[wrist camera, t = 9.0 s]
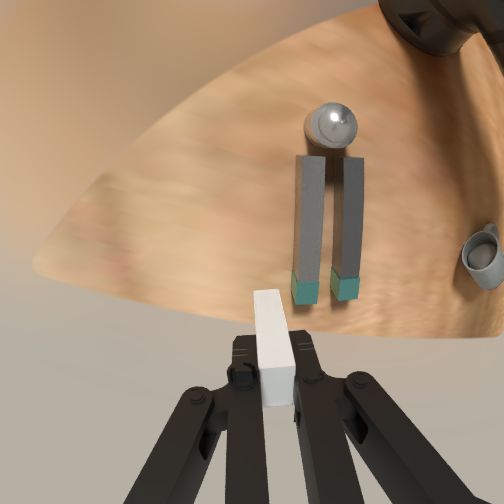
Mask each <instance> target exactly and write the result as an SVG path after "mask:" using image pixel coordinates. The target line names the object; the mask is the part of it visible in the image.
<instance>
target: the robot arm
mask: <svg viewBox="0 0 504 504" xmlns="http://www.w3.org/2000/svg"><path fill="white" fill-rule="evenodd" d="M379 4H380V6H381V9H382V11H383V13H384V14H385V16H386V18H387V19H388V20H389V22H390V23H391V24H392V26H393V27H394V28H395V29H396V30H397V31H398V32H399V33H400V34H401V35H402V36H403V37H404V38H405V39H406V40H407V41H408V42H410V43H411V44H412V45H414V46H415V47H417V48H418V49H420V50H422V51H424V52H426V53H428V54H431V55H434V56H446V55H449V54H453V53H455V52H457V51H458V50H460V48H461V47H462V46H463V44H464V43H465V42H466V41H467V40H468V39H469V38H470V37H471V36H472V35H473V34H476V33H479V32H480V33H481V34H482V36H483V38H484V39H485V41H486V43H487V45H488V47H489V48H490V50H491V52H492V54H493V56H494V58H495V60H496V62H497V64H498V66H499V68H500V70H501V72H502V74H503V77H504V0H379ZM254 307H255V323H256V335H243V336H237V337H236V338H235V340H234V341H233V352H232V364H231V365H230V366H229V367H228V370H227V376H228V382H229V383H228V384H227V385H225V386H224V387H222V388H219V389H216V390H213V391H209V390H208V389H207V388H204V387H197V386H196V387H192V388H189V389H188V390H186V391H185V392H184V393H183V394H182V396H181V398H180V400H179V402H178V404H177V406H176V407H175V409H174V411H173V413H172V415H171V417H170V418H169V421H168V422H167V424H166V426H165V428H164V430H163V432H162V433H161V435H160V437H159V439H158V441H157V443H156V444H155V446H154V448H153V450H152V452H151V454H150V456H149V457H148V459H147V461H146V463H145V465H144V467H143V469H142V470H141V472H140V474H139V476H138V478H137V479H136V481H135V483H134V485H133V487H132V489H131V491H130V492H129V494H128V496H127V498H126V499H125V501H124V503H123V504H194V501H195V499H196V496H197V494H198V491H199V489H200V486H201V484H202V481H203V479H204V476H205V474H206V471H207V468H208V466H209V463H210V461H211V458H212V455H213V453H214V450H215V448H216V445H217V442H218V439H219V437H220V434H221V431H225V430H227V451H226V452H227V453H226V485H225V504H269V493H268V480H267V467H266V453H265V439H264V427H263V426H264V425H263V411H262V407H274V406H284V405H293V403H294V405H295V413H294V422H296V426H297V432H298V438H299V444H300V450H301V457H302V463H303V470H304V476H305V482H306V489H307V496H308V502H309V504H364V500H363V496H362V492H361V488H360V485H359V481H358V478H357V474H356V470H355V466H354V463H353V459H352V456H351V452H350V449H349V446H348V442H347V439H346V435H345V433H346V434H347V436H348V437H349V439H350V440H351V442H352V443H353V445H354V447H355V448H356V450H357V451H358V453H359V454H360V456H361V457H362V459H363V460H364V462H365V463H366V465H367V466H368V468H369V469H370V471H371V472H372V474H373V475H374V476H375V478H376V480H377V481H378V483H379V484H380V486H381V487H382V489H383V490H384V492H385V493H386V495H387V496H388V498H389V499H390V501H391V502H392V503H393V504H491V503H488V502H486V501H484V500H482V499H479V498H477V497H475V496H474V495H473V494H472V493H471V492H470V490H469V489H468V488H467V487H466V486H465V484H464V483H463V482H462V481H461V479H460V478H459V477H458V476H457V475H456V473H455V472H454V471H453V470H452V469H451V467H450V466H449V465H448V464H447V463H446V462H445V460H444V459H443V458H442V457H441V456H440V454H439V453H438V452H437V451H436V450H435V449H434V447H433V446H432V445H431V444H430V443H429V441H428V440H427V439H426V438H425V437H424V436H423V434H422V433H421V432H420V431H419V430H418V429H417V427H416V426H415V425H414V424H413V423H412V422H411V420H410V419H409V418H408V417H407V416H406V415H405V413H404V412H403V411H402V410H401V409H400V408H399V407H398V405H397V404H396V403H395V402H394V401H393V400H392V398H391V397H390V396H389V395H388V394H387V393H386V391H385V390H384V389H383V388H382V387H381V386H380V384H379V383H378V382H377V381H376V380H375V379H374V378H373V376H371V375H370V374H369V373H366V372H362V371H357V372H353V373H351V374H349V375H348V377H347V378H346V379H345V378H335V377H331V376H328V375H327V374H326V373H325V372H324V371H323V370H322V369H321V367H320V364H319V360H318V357H317V354H316V351H315V349H314V345H313V342H312V339H311V335H310V334H309V333H307V332H306V331H305V330H298V331H288V329H287V324H286V320H285V315H284V311H283V307H282V302H281V298H280V294H279V289H272V290H258V291H254ZM344 431H345V432H344Z"/></svg>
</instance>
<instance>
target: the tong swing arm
mask: <svg viewBox="0 0 504 504" xmlns="http://www.w3.org/2000/svg"><path fill="white" fill-rule="evenodd" d="M318 126H319V130H320V132H321V134H322V135H323V137H324V138H325V139H327V140H328V141H330V142H332V143H346V142H349V141H350V140H351V139H353V137H354V136H355V134H356V132H357V121H356V118H355V116H354V115H353V113H352V112H351V111H350V110H348V109H347V108H345V107H343V106H331V107H329V108H327V109H325V110H324V111H323V112H322V113H321V115H320V117H319V120H318ZM324 190H325V157H323V156H306V155H296V196H295V232H294V257H293V270H292V280H291V292H292V295H293V298H294V302H295V305H306V304H317V299H318V289H319V281H318V279H319V269H320V257H321V244H322V229H323V212H324Z"/></svg>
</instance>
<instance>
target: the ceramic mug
mask: <svg viewBox="0 0 504 504" xmlns="http://www.w3.org/2000/svg"><path fill="white" fill-rule="evenodd" d="M490 231H491V232H490ZM462 261H463V264H464V266H465V267H466V269H467V270H468V272H469V273H470V275H471V276H472V277H473V279H474V281H475V282H476V284H477V285H478V286H479V287H481V288H482V289H485V290H492V289H495V288H497V287H498V286H499V285H500V284H501V283H502V282H503V280H504V256H503V253H502V249H501V246H500V243H499V237H498V231H497V228H496V226H495V224H493V223H491V224H486V225H485V227H484V230H483V231H479V232H476V233H475V234H473V235H472V236H471V237H470V238H469V239H468V240H467V241H466V243H465V244H464V246H463V249H462Z"/></svg>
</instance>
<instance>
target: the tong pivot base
mask: <svg viewBox="0 0 504 504" xmlns="http://www.w3.org/2000/svg"><path fill="white" fill-rule="evenodd" d="M331 106H343V107H345V108H347V107H346V106H344V105H342V104H339V103H327V104H324V105H322V106H320V107H318V108H317V109H315V110H313V111H311V112H310V113H309V114H308V115H307V117H306V119H305V121H304V132H305V135H306V137H307V138H308V140H309V141H310V142H311V143H312V144H314V145H315V146H317V147H320V148H343V147H346V146H348V145H349V144H350V143H352V141H353V140H354V139H355V137H356V134H357V132H356V134H355V136H354V137H353V139H351V140H350V141H349V142H346V143H332V142H330V141H328V140H327V139H325V138H324V137H323V135H322V134H321V132H320V130H319V126H318V120H319V117H320V115H321V113H322V112H323V111H324V110H325V109H327V108H329V107H331ZM347 109H348V108H347ZM348 110H350V109H348ZM350 111H351V110H350ZM353 115H354V114H353ZM357 127H358V126H357ZM333 163H334V231H333V258H332V267H331V281H330V288H331V290H332V291H333V293H334V295H335V297H336V298H337V300H338V301H344V300H352V299H358V291H359V282H360V277H359V269H360V259H361V246H362V231H363V210H364V158H359V157H339V156H333Z"/></svg>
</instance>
